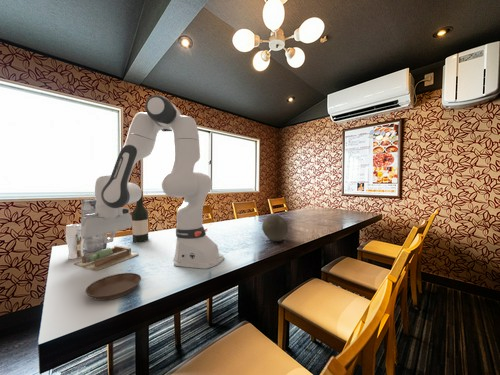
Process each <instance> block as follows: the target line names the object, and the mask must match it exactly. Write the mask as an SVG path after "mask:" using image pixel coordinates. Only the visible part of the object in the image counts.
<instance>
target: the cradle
mask: <svg viewBox="0 0 500 375" xmlns="http://www.w3.org/2000/svg"><path fill="white" fill-rule="evenodd" d="M110 248H111V249H112V251H113V254H112V255H109V256H106V257H103V258H99V259H96V260H94V261H92V262H89V263H87V262H86V257H88V256H91V255H94V254H95V252H94V253H93V252H92V253H91V254H87V255H86V254H85V256H83V257H82V258H81V260H80V261H77V262H74V263H73V264H74V265H76V266H78V267H82V268H86V269H89V270H92V271H95V272H98V271H100V270H103V269H106V268H109V267H112V266H114V265H117V264H119V263H122V262H125V261H126V260H127V261H128V260H130V259H132V258H135V257H138V256H139V255H140V253H135V252H132V247H131V248H130V247H126V246H122V245H114V246H113V247H110Z"/></svg>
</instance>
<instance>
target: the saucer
mask: <svg viewBox="0 0 500 375" xmlns="http://www.w3.org/2000/svg"><path fill="white" fill-rule="evenodd" d="M141 280H142V277H141V275H140V274H137V273H134V272H124V273H116V274H112V275H109V276H105V277H103V278H100V279H98V280H95V281H93V282H92V283H90V284H89V285H88V286H87V287H86V289H85V294H86V295H87V296H88V297H90V298H92V299H94V300H97V301H110V300H115V299H118V298H120V297H121V298H122V297H124V296H125V295H126V296H127V294H129V293H131V292H132V291H133V290H135V289H136V287H137V286H139V284H140V282H141Z"/></svg>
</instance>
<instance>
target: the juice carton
mask: <svg viewBox="0 0 500 375" xmlns="http://www.w3.org/2000/svg"><path fill="white" fill-rule="evenodd" d="M95 205H96V197H94V199H83V200H81V211H80V212H81V218H82V217H83V216H85V215H88V214H95V213H96V207H95ZM84 218H85V217H84ZM106 237H107V238H108V235H107V236H106ZM107 244H108V243H104V239H103V237H102V236H101V235H97V236H92V237H88V238H85V242H84V251H87V252H88V253H93V252H94V253H95V252H96V251H100V250H102V249H106V248H107Z"/></svg>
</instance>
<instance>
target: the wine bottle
mask: <svg viewBox="0 0 500 375" xmlns="http://www.w3.org/2000/svg"><path fill="white" fill-rule="evenodd" d="M143 192H144V191H143V190H142V196H141V198H140V200H139V201H137V202H136V205H135V208H134V209H133V211H132V213H131V217H132V226H131V228H132V243H136V242H137V243H143V242H144V243H145V242H147V241H148V240H149V215H148V214H149V212H148V210H147V209H146V207H145V206H144V193H143Z"/></svg>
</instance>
